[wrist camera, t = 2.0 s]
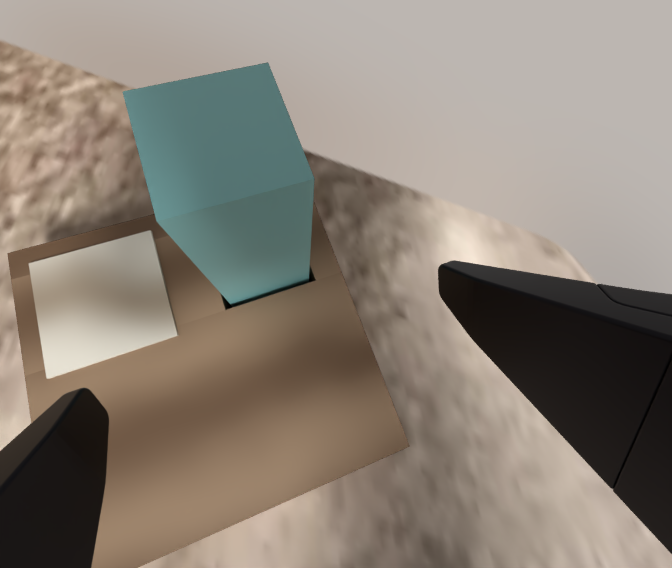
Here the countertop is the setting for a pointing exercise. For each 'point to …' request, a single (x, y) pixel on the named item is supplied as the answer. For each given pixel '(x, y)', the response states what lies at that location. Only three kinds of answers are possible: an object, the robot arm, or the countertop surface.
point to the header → (198, 382)
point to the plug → (228, 178)
